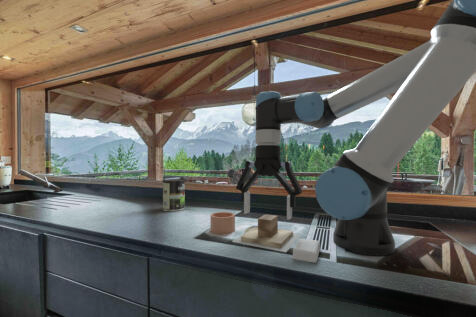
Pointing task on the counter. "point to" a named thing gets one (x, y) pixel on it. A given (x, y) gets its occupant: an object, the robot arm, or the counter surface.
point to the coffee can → (173, 194)
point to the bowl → (222, 222)
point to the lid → (268, 233)
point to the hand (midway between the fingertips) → (267, 215)
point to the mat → (283, 249)
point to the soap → (306, 250)
